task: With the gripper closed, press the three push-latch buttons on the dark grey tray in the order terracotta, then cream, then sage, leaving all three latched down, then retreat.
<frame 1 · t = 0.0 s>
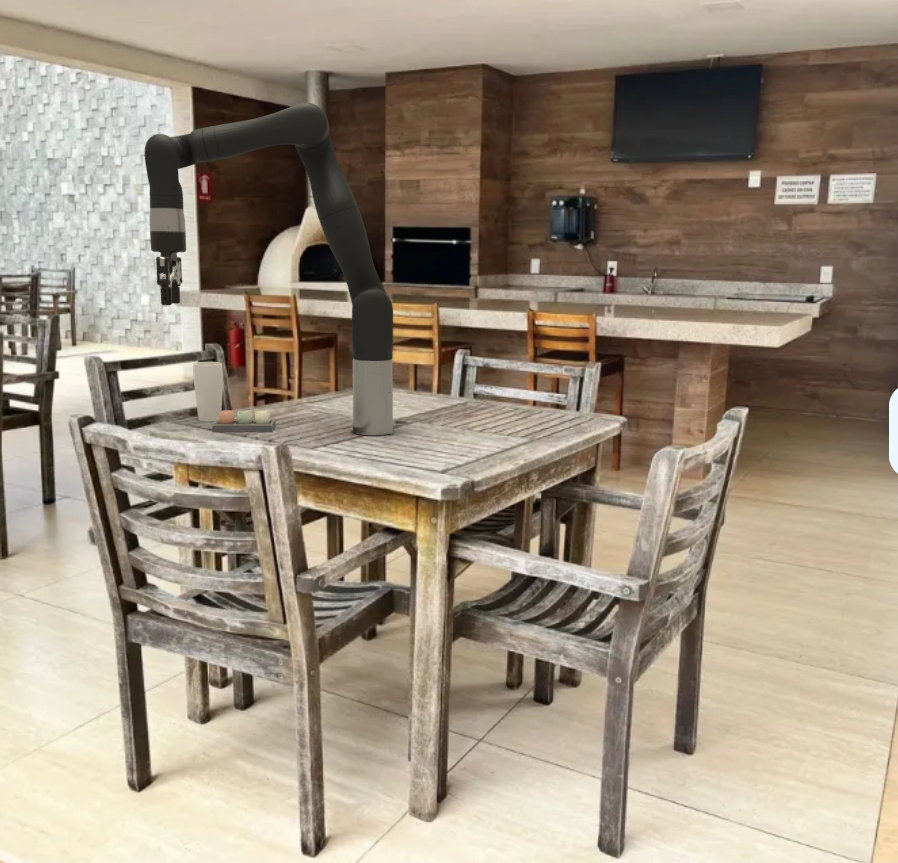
hand: (171, 304, 200), 29 cm above the table, fingers open, 8 cm apart
button terracotta: (226, 420, 202), point 3 cm above the table, slide at 0.0 cm
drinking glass: (210, 426, 215), on the table
dark grey tray: (245, 435, 203), on the table
button cream: (262, 420, 203), point 4 cm above the table, slide at 0.0 cm
button sage: (244, 420, 203), point 4 cm above the table, slide at 0.0 cm
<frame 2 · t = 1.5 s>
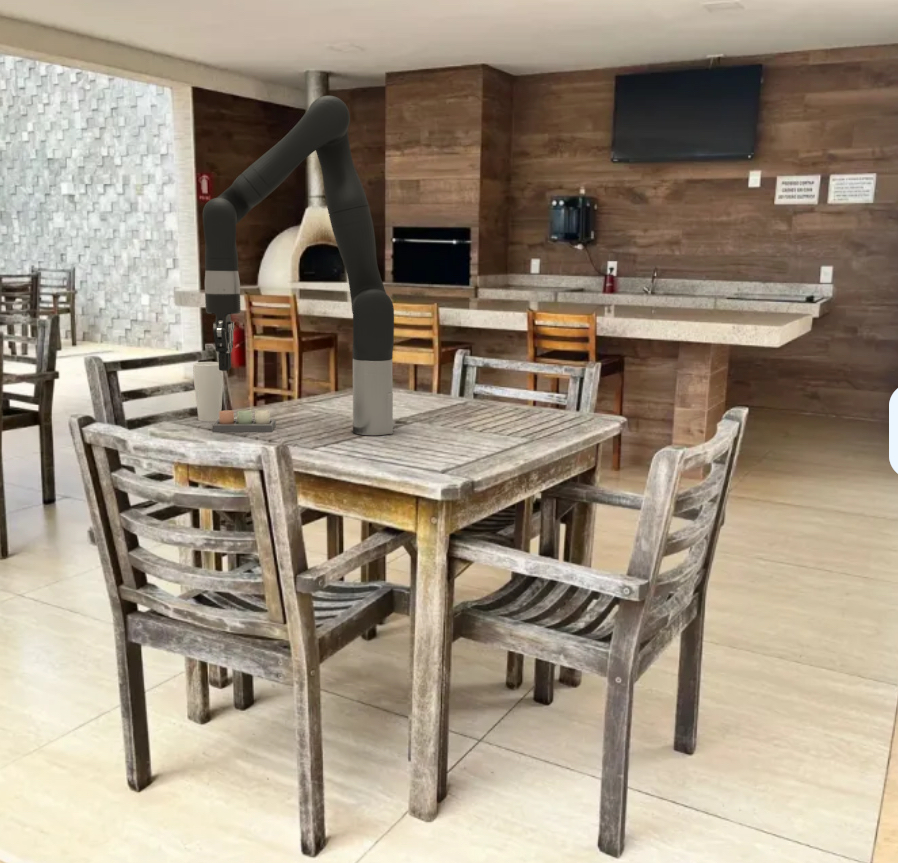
hand: (225, 369, 200), 15 cm above the table, fingers closed
nothing on the table moved.
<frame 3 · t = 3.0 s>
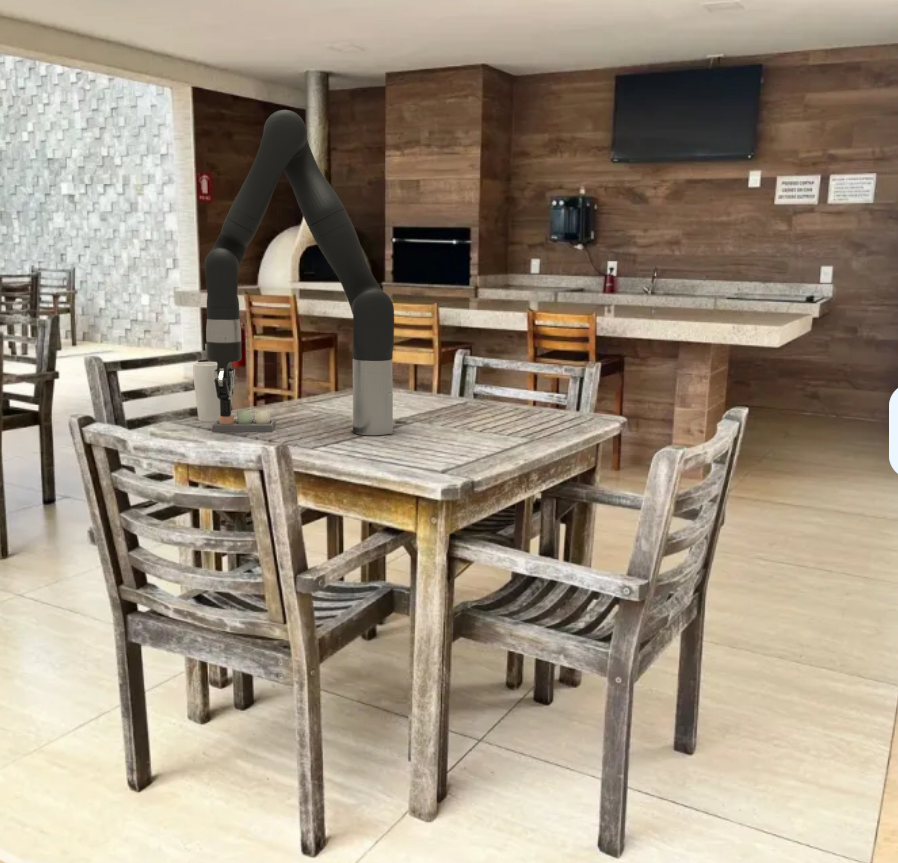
hand: (225, 415, 202), 4 cm above the table, fingers closed
button terracotta: (226, 424, 203), point 2 cm above the table, slide at 1.0 cm, touching gripper
everything else where it was.
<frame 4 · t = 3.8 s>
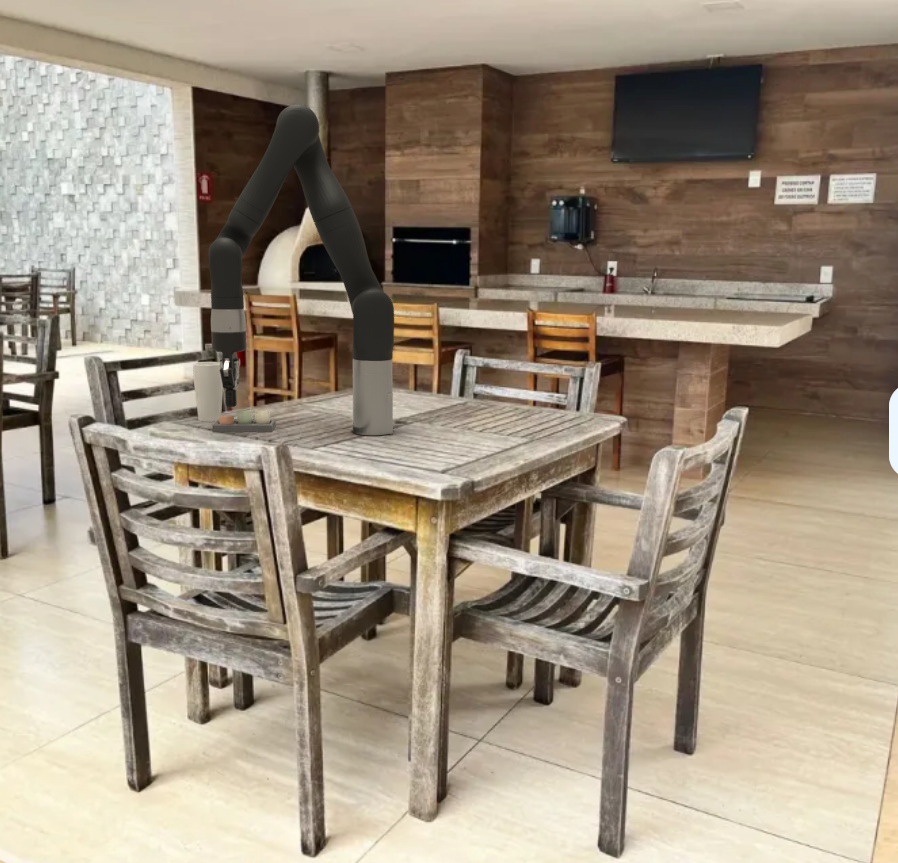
hand: (231, 406, 202), 7 cm above the table, fingers closed
button terracotta: (226, 425, 203), point 2 cm above the table, slide at 1.1 cm
everything else where it was.
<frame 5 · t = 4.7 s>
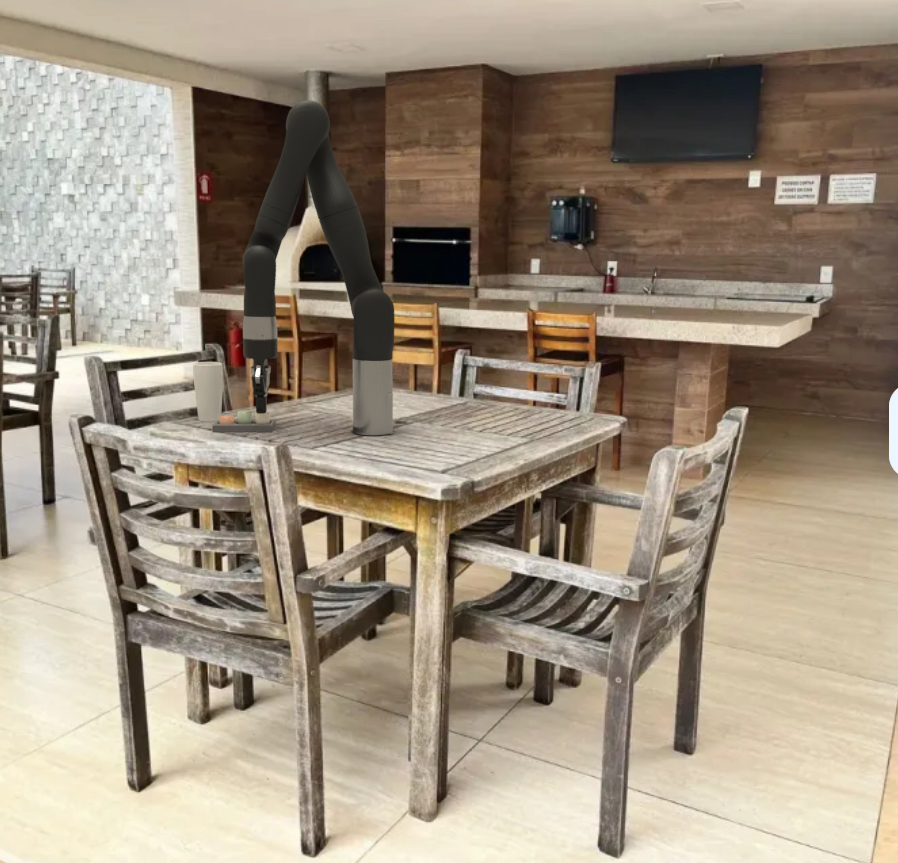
hand: (261, 412, 203), 5 cm above the table, fingers closed
button cream: (262, 421, 203), point 3 cm above the table, slide at 0.3 cm, touching gripper
everything else where it was.
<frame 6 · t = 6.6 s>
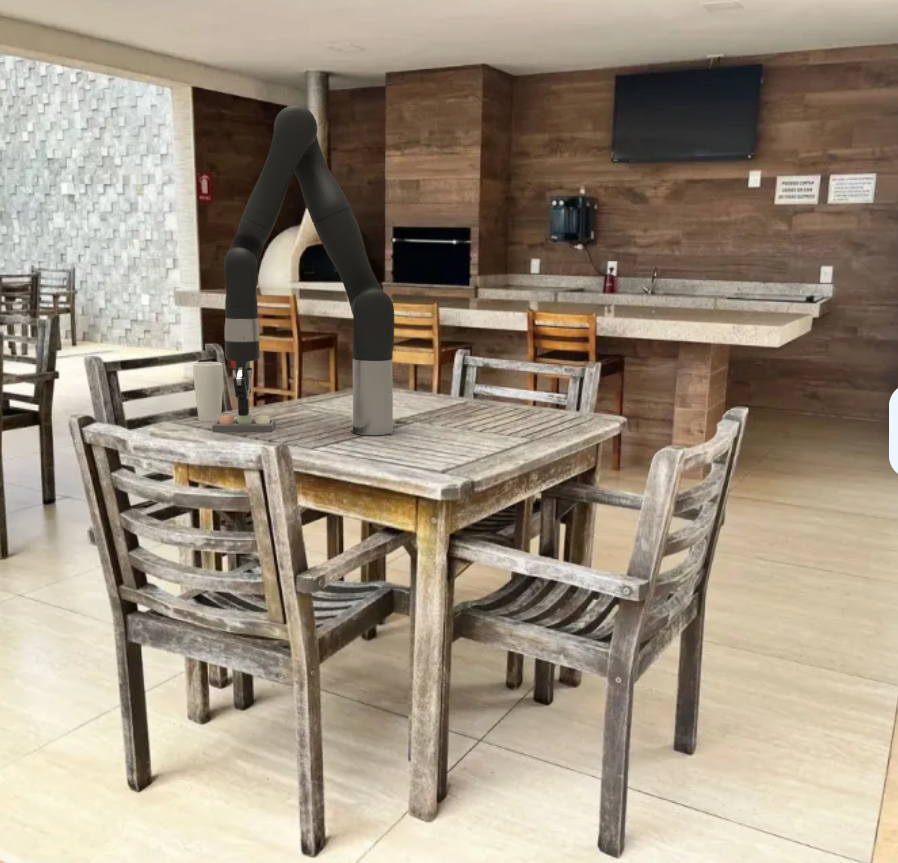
hand: (243, 415, 203), 5 cm above the table, fingers closed
button cream: (262, 425, 203), point 2 cm above the table, slide at 1.1 cm
button sage: (244, 423, 203), point 3 cm above the table, slide at 0.8 cm, touching gripper
everything else where it was.
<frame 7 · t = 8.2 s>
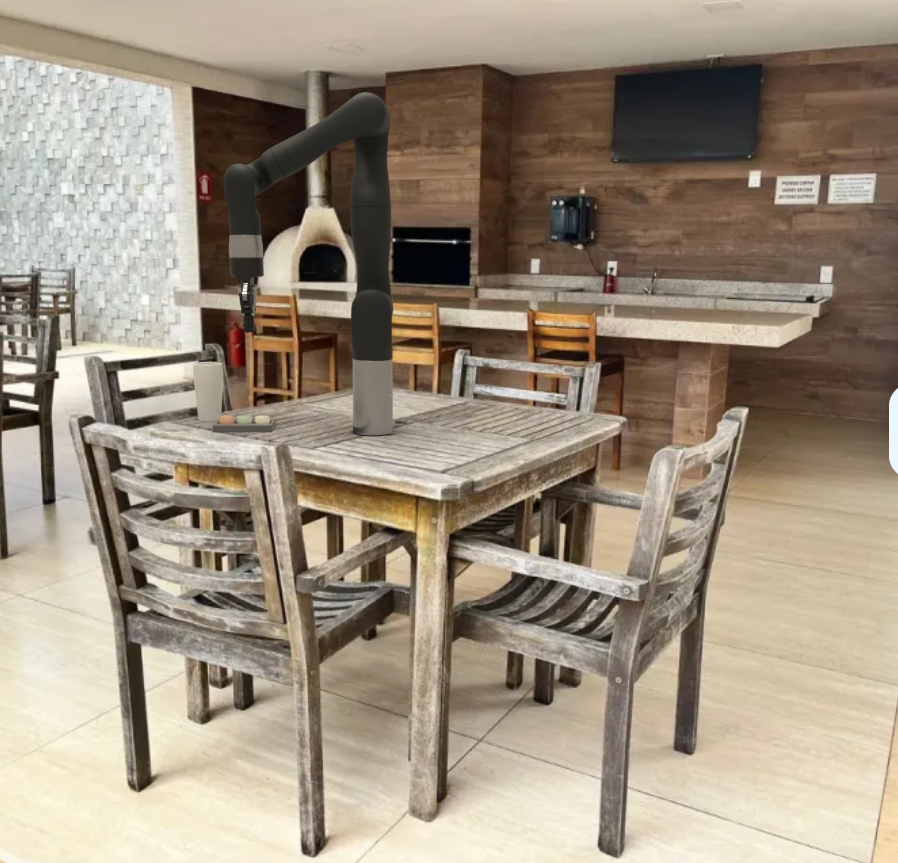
hand: (249, 332, 206), 23 cm above the table, fingers closed
button sage: (244, 425, 203), point 2 cm above the table, slide at 1.1 cm
everything else where it was.
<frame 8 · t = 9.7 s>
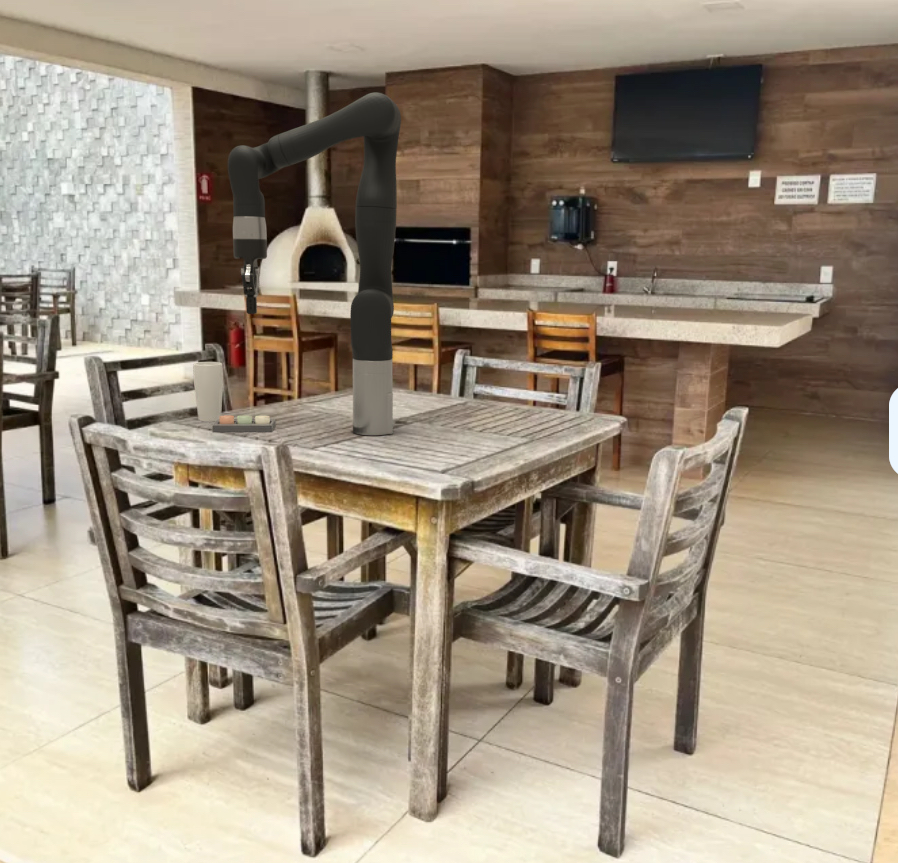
hand: (251, 313, 208), 27 cm above the table, fingers closed
nothing on the table moved.
at the end: button terracotta slide at 1.1 cm; button cream slide at 1.1 cm; button sage slide at 1.1 cm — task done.
